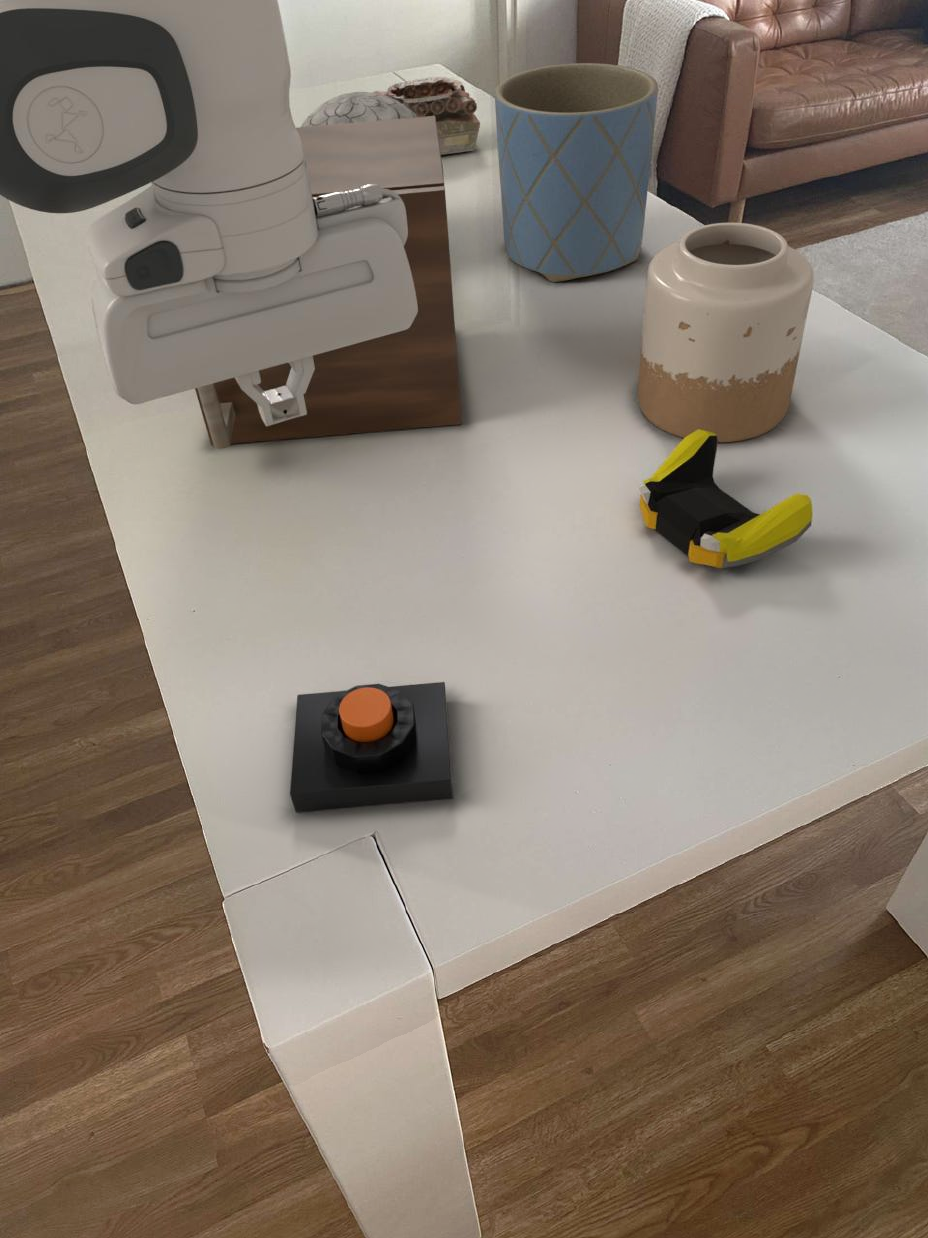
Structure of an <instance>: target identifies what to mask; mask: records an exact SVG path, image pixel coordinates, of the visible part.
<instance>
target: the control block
mask: <svg viewBox="0 0 928 1238" xmlns="http://www.w3.org/2000/svg"><path fill="white" fill-rule="evenodd" d="M366 687H370V688H376V689H379V690H381V691H383V692H384V693H386V694H387V695H388V697H389V699H390V701H391V706H392V712H393V718H394V722H393V726H392V728H391V730H390V731H389V733H388V734H387V735H386V736H384V737H383V738H381V739H379V740H377V741H374V742H368V743H363V742H357V741H354V740H352V739H351V738H349V737H348V736H347V735H346V734H345V732H344V730H343V726H342V722H341V718H340V713H339V707H340V704H341V701H342V700H343V699H344V697H345V696H346V695H347V694H349V693H350V692H352V691H354V690H357V689H360V688H366ZM296 697H297V698H296V708H295V709H296V711H295V721H294V722H295V724H294V725H295V726H294V735H293V749H292V759H291V760H292V761H291V775H290V788H289V796H290V799H291V803H292V806H293V809H294V811H295V813H304V812H314V811H326V810H338V809H350V808H361V807H362V808H363V807H371V806H383V805H393V804H394V805H395V804H405V803H417V802H429V801H440V800H450V799H454V789H453V788H454V786H453V774H452V771H453V770H452V756H451V744H450V729H449V715H448V702H447V701H448V699H447V689H446V682H445V681H438V682H428V683H414V684H403V685H394V686H387V685H385V684H382V683H371V684H360V685H355V686H352V687H351V688H348V689H346V690H337V691H325V692H324V691H323V692H314V693H313V692H312V693H302V694H297V696H296Z"/></svg>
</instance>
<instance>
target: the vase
mask: <svg viewBox="0 0 928 1238" xmlns="http://www.w3.org/2000/svg"><path fill="white" fill-rule="evenodd" d="M814 277H815V274H814V270H813V266H812V264H811V262H810V261H809V260H808V259H807V257H806V256H805V255H803V254H802V252H801V253H800V251H799V250H797V249H794V248H793V247H791V246H789V244H788V241H787V240H786V239H785V238H784V237H783V236H782V235H781V234H780V233H778V232H776V231H775V230H772V229H770V228H768V227H765V226H760V225H756V224H752V223H744V222H718V223H717V222H715V223H710V224H706V225H702V226H698V227H696V228H693V229H691V230H689V231H687V232H686V233H685V234H684V235H683V236H682V237H681V238H680V240H679V241H676V242H673V243H671V244H668V245H667V246H665V247H663V248H662V249H660V251H658V252H657V253H656V254H655V255H654V256H653V257H652V258H651V260H650V261H649V264H648V267H647V270H646V277H645V288H644V301H643V313H642V314H643V315H642V327H641V328H642V329H641V341H640V342H641V343H640V356H639V367H638V380H637V381H638V383H637V403H638V406H639V409H640V411H641V412H642V414H643V415H644V416H645V418H646V419H647V420H648V421H649V422H650V423H652V424H653V425H654V426H656V427H657V428H659V429H660V430H662V431H665V432H666V433H669V434H671V435H674V436H677V437H678V438H679V437H680V438H683V439H684V438H685V437H686V436H688V435H690V434H691V433H693V432H695V431H696V430H698V429H700V430H704V431H708V432H712V433H715V434H716V435H717V439H718V443H731V442H741V441H745V440H749V439H752V438H756V437H759V436H762V435H764V434H766V433H768V432H770V431H771V430H773V429H775V428H776V427H777V426H778V425H779V424H780V423H781V422H782V421H783V419H784V418H785V416H786V414H787V412H788V410H789V407H790V402H791V398H792V394H793V393H792V391H793V387H794V383H795V382H794V381H795V379H796V373H797V368H798V363H799V357H800V353H801V348H802V343H803V337H804V334H805V327H806V324H807V317H808V313H809V308H810V303H811V298H812V292H813V287H814V280H815V278H814Z"/></svg>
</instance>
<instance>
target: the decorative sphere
mask: <svg viewBox="0 0 928 1238" xmlns="http://www.w3.org/2000/svg"><path fill="white" fill-rule="evenodd" d="M415 117H418V116H417V115H416V114H415V113H414V112H413V111H411V110H410V109H409V108H408V107H406V106H405V105H403V104H402V103H400V102H398V101H397V100H394V99H392V98H390V97H388V96H384V95H381V94H377V93H373V92H371V91H354V92H353V91H352V92H348V93H343V94H340V95H337V96H334V97H333V98H330V99H328V100H327V101H325V102H323V103H322V104H320V105H319V106H318V107H317V108H315V109H314V110H313V111H312V112H311V113H310V114H309V115H308V116H307V117H306V118H305V120H304V121H303V122H302V124H301V125H300V127H310V126H322V125H333V124H345V123H357V122H368V121H380V120H391V119H403V118H415ZM441 163H442V164H443V161H442V160H441ZM442 170H443V171H444V167H443V165H442ZM443 178H444V179H445V175H444V174H443Z"/></svg>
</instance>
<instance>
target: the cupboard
mask: <svg viewBox="0 0 928 1238" xmlns="http://www.w3.org/2000/svg"><path fill="white" fill-rule="evenodd" d="M296 129H297V132H298V134H299V136H300V138H301V140H302V143H303V147H304V151H305V157H306V163H307V169H308V175H309V181H310V187H311V193H312V197H316V196H321V195H325V194H329V193H334V192H344V191H350V190H354V189H358V187H361V186H364V185H368V184H379V185H380V187H381V189H389V190H403V189H415V188H426V187H438V186H445V177H444V178H443V175H444V169H443V170H442V166H443V162H442V163H441V161H442V155H440V147H439V140H438V132H437V124H436V117H435V116H426V117H415V118H403V119H391V120H380V121H368V122H357V123H345V124H333V125H322V126H310V127H301V126H299V127H296Z"/></svg>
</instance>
